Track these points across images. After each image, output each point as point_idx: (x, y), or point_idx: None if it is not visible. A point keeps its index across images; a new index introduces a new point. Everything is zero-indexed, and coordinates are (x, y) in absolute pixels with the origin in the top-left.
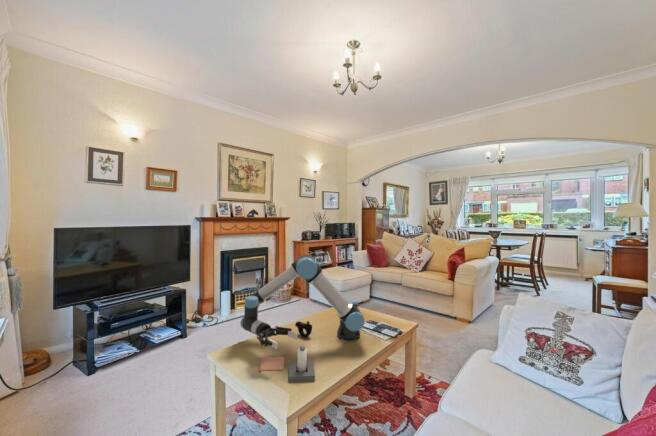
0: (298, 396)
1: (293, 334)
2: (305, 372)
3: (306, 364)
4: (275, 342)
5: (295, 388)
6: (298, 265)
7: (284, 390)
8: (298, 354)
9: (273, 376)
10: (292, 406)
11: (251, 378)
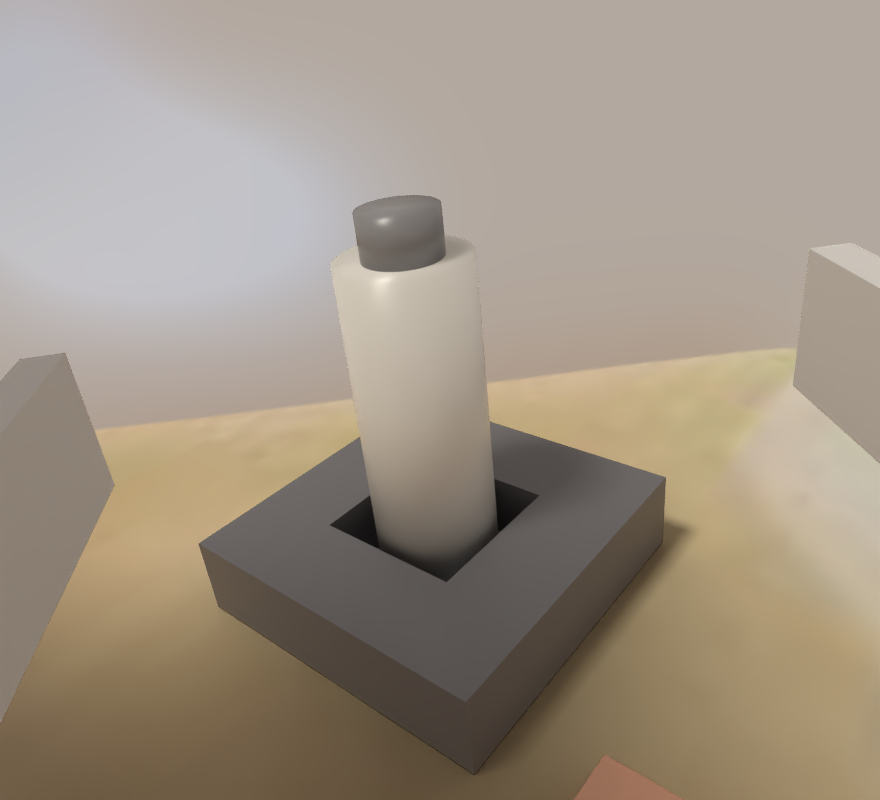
0: (665, 405)
1: (28, 452)
2: None
3: (311, 546)
4: (875, 265)
5: (638, 467)
6: None
7: (758, 489)
8: (479, 305)
9: (825, 754)
10: (759, 367)
11: None
